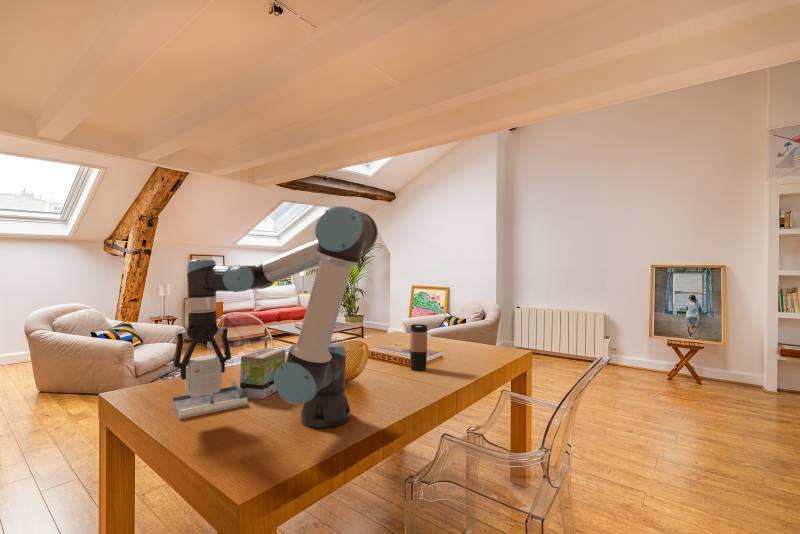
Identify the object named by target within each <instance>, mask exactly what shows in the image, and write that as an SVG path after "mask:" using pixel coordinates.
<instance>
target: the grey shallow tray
mask: <svg viewBox="0 0 800 534" xmlns="http://www.w3.org/2000/svg"><path fill="white" fill-rule="evenodd" d="M230 384H231V385H230V386H227V387H220V392H216V393H211V394H207V395H202V396H197V397H193V398H192V397H191V396H190V395H189V394H188V393H187V394H181V395H176V396H172V397H171V399H172V401H171V403H172V408H173V410H174V412H175V413H176V416H177V417H178V419H179V420H183V419H189V418H194V417H197V416H202V415H206V414H207V415H208V414H211V413H216V412H221V411H224V410H230V409H235V408H238V407H239V408H240V407H245V406H248V398H247V397H244V396H243V389H241V388H240V385H238V384H237V383H236V382H235V381H233V382H231V383H230Z"/></svg>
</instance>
